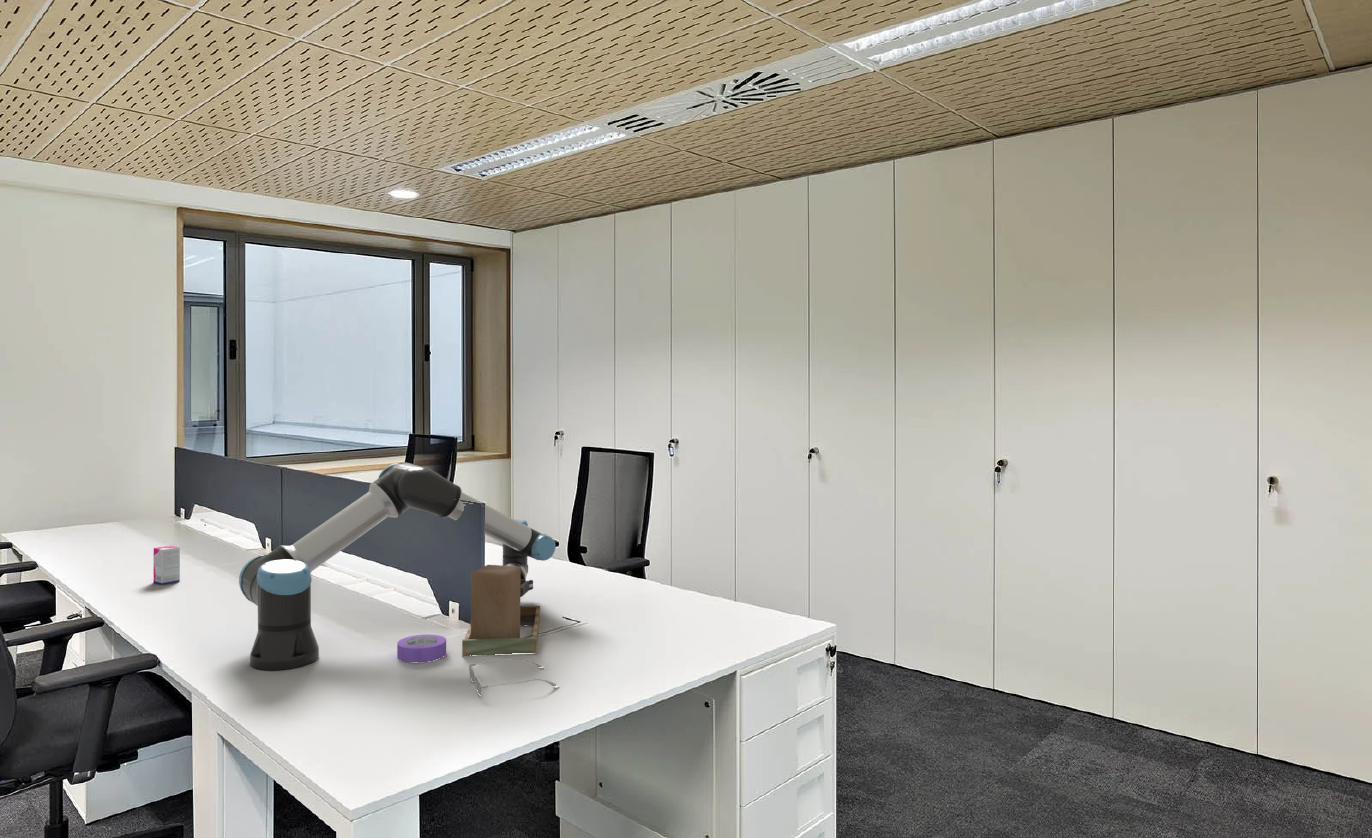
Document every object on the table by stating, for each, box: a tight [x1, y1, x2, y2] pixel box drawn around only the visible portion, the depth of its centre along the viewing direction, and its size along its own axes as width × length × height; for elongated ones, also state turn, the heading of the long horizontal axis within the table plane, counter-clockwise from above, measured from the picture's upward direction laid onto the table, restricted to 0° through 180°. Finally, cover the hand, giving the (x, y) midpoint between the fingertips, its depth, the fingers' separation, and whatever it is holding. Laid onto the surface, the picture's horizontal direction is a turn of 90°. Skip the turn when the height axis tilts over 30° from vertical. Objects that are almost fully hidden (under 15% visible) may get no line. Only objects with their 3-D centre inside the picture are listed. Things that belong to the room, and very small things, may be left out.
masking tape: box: [396, 633, 447, 663], centre depth 213 cm, size 12×12×4 cm
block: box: [470, 564, 521, 639], centre depth 221 cm, size 10×10×20 cm
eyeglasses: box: [468, 658, 557, 696], centre depth 195 cm, size 15×18×4 cm
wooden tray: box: [461, 605, 541, 657], centre depth 230 cm, size 34×18×4 cm, turn 8°
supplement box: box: [153, 545, 181, 586], centre depth 280 cm, size 6×6×12 cm
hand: (506, 599), depth 230 cm, fingers closed
